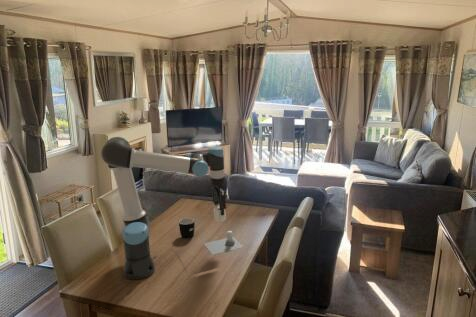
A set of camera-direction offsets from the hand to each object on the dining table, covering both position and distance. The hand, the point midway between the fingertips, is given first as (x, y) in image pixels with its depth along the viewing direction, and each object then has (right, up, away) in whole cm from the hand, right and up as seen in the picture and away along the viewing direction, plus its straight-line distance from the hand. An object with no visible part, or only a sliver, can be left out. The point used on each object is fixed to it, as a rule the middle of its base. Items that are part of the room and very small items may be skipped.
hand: (219, 218), depth 193 cm
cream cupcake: (0, -1, 0) cm, 1 cm away
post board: (+2, -17, +5) cm, 18 cm away
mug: (-19, -14, +19) cm, 31 cm away
